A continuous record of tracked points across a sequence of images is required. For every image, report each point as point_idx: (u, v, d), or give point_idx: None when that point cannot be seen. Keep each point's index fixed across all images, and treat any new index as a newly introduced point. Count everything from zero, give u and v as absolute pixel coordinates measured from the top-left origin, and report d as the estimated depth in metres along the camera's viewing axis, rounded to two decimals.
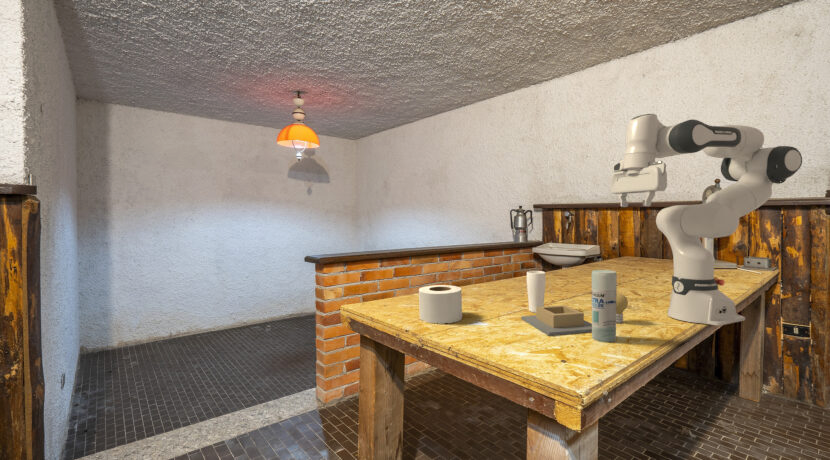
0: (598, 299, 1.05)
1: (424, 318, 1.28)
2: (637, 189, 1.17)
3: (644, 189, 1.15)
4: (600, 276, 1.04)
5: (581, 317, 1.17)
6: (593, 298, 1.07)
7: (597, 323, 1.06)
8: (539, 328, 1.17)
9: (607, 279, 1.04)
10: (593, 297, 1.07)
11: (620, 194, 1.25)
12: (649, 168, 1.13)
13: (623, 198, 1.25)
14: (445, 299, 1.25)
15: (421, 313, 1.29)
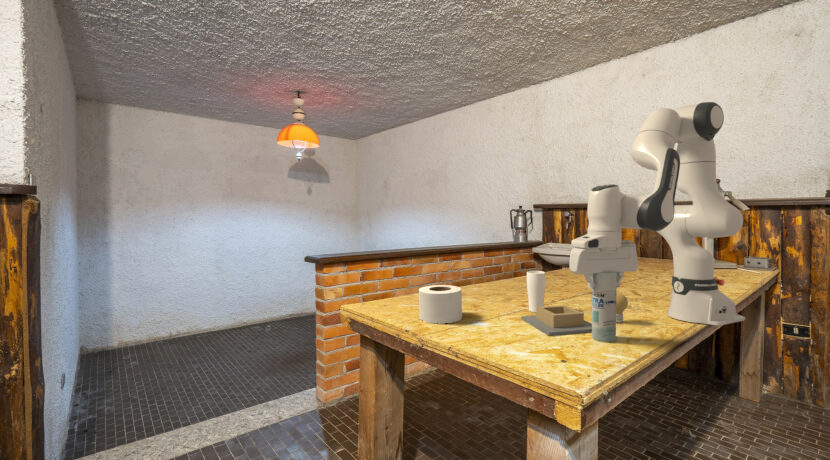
0: (598, 299, 1.05)
1: (424, 318, 1.28)
2: (615, 270, 1.05)
3: (624, 270, 1.06)
4: (600, 276, 1.04)
5: (581, 317, 1.17)
6: (593, 298, 1.07)
7: (597, 323, 1.06)
8: (539, 328, 1.17)
9: (607, 279, 1.04)
10: (593, 297, 1.07)
11: (591, 275, 1.05)
12: (627, 248, 1.06)
13: None
14: (445, 299, 1.25)
15: (421, 313, 1.29)
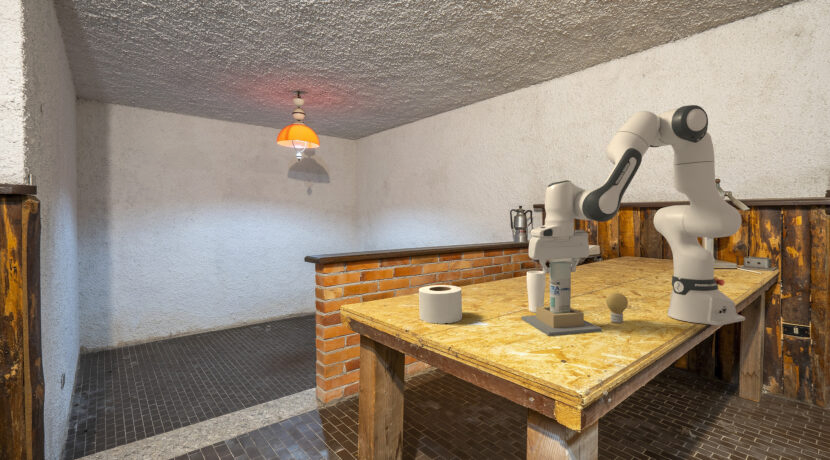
0: (554, 286, 1.19)
1: (424, 318, 1.28)
2: (569, 256, 1.19)
3: (576, 256, 1.20)
4: (556, 266, 1.18)
5: (581, 317, 1.17)
6: (550, 286, 1.20)
7: (554, 308, 1.19)
8: (539, 328, 1.17)
9: (562, 269, 1.17)
10: (550, 285, 1.20)
11: (544, 260, 1.18)
12: (580, 237, 1.19)
13: None
14: (445, 299, 1.25)
15: (421, 313, 1.29)
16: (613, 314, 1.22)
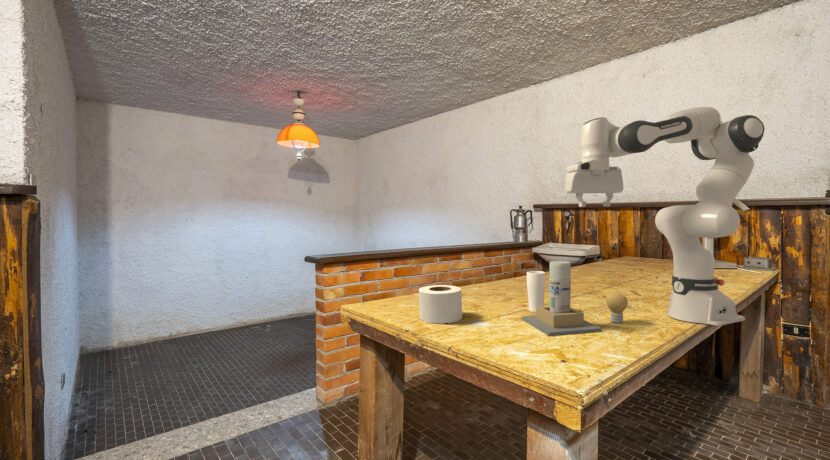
0: (554, 286, 1.19)
1: (424, 318, 1.28)
2: (604, 190, 1.25)
3: (611, 191, 1.25)
4: (556, 266, 1.18)
5: (581, 317, 1.17)
6: (550, 286, 1.20)
7: (553, 308, 1.19)
8: (539, 328, 1.17)
9: (562, 269, 1.17)
10: (550, 285, 1.20)
11: (581, 194, 1.24)
12: (614, 172, 1.25)
13: None
14: (445, 299, 1.25)
15: (421, 313, 1.29)
16: (613, 314, 1.22)
